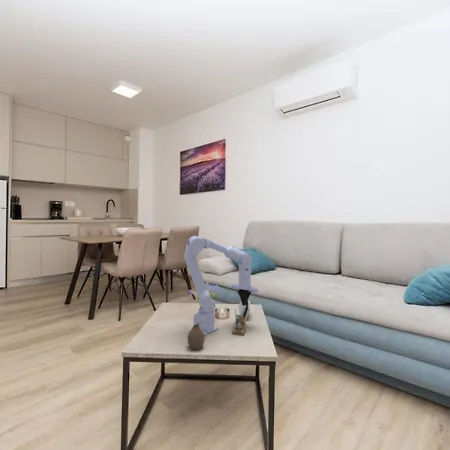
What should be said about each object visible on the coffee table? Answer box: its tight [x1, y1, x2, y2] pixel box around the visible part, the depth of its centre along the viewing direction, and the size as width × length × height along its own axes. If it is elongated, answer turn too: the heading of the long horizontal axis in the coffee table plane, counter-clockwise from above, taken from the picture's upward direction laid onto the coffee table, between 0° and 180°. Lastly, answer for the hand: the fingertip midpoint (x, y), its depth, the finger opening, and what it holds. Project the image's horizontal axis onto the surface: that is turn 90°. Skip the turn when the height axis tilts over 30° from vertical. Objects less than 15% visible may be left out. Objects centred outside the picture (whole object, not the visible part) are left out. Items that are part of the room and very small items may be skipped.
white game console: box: [234, 299, 251, 322], centre depth 153 cm, size 17×5×10 cm, turn 1°
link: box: [231, 316, 247, 336], centre depth 134 cm, size 14×5×5 cm, turn 166°
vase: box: [187, 324, 206, 350], centre depth 115 cm, size 7×7×9 cm
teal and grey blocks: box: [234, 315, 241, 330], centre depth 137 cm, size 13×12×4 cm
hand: (244, 305), depth 139 cm, fingers closed
